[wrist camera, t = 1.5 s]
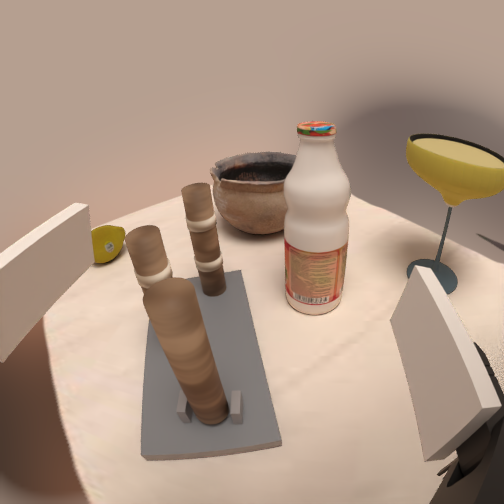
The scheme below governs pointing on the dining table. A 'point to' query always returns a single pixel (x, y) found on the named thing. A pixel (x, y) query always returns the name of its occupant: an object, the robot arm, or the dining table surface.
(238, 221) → the ceramic bowl
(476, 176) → the cocktail glass
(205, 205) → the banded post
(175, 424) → the board
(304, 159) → the fruit juice
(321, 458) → the dining table surface
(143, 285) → the banded post middle
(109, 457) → the dining table surface
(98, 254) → the lemon
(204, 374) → the plain post
